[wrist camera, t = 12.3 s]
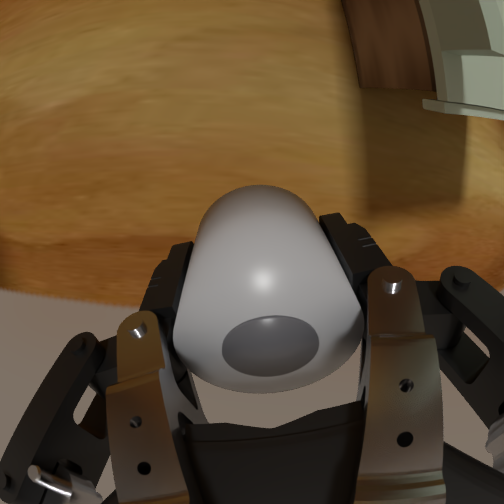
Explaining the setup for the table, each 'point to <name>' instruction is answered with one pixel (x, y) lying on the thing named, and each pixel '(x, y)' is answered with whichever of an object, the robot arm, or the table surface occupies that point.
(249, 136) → the table surface
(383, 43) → the condiment box
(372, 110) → the table surface
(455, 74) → the lid
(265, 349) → the grey rounded cylinder
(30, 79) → the table surface
